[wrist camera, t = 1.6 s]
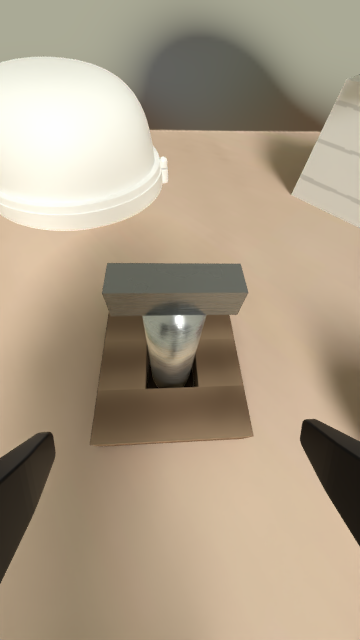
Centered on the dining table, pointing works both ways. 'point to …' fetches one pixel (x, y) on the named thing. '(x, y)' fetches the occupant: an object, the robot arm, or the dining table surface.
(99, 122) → the dome cover
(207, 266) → the t key
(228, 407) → the socket block
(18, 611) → the dining table surface
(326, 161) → the pizza boxes
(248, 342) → the dining table surface
